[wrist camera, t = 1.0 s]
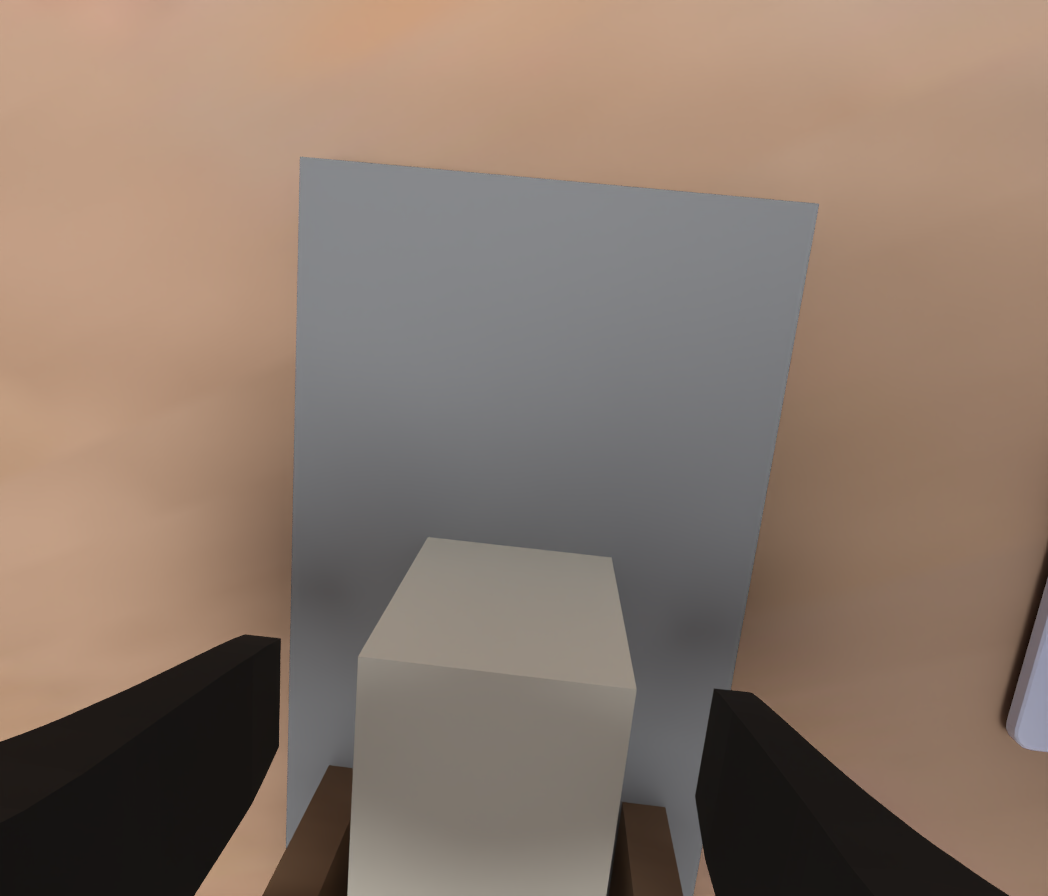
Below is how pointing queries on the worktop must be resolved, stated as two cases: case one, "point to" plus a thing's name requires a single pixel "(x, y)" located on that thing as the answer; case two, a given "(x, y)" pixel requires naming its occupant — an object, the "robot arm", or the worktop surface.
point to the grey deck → (537, 424)
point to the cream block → (491, 727)
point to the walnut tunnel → (324, 839)
